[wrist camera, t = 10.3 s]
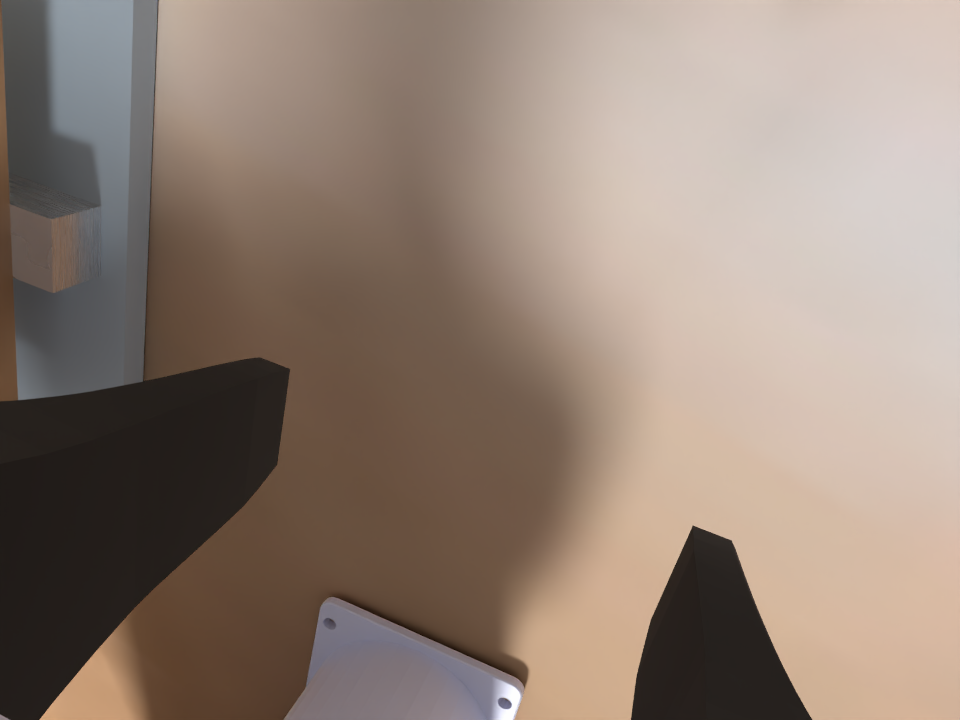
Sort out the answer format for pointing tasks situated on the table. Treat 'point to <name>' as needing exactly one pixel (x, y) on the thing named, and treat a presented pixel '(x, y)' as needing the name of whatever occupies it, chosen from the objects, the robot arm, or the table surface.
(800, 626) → the table surface
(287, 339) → the table surface
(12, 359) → the walnut plank
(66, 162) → the blue-grey flat rectangular panel
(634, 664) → the table surface
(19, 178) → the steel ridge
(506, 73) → the table surface
